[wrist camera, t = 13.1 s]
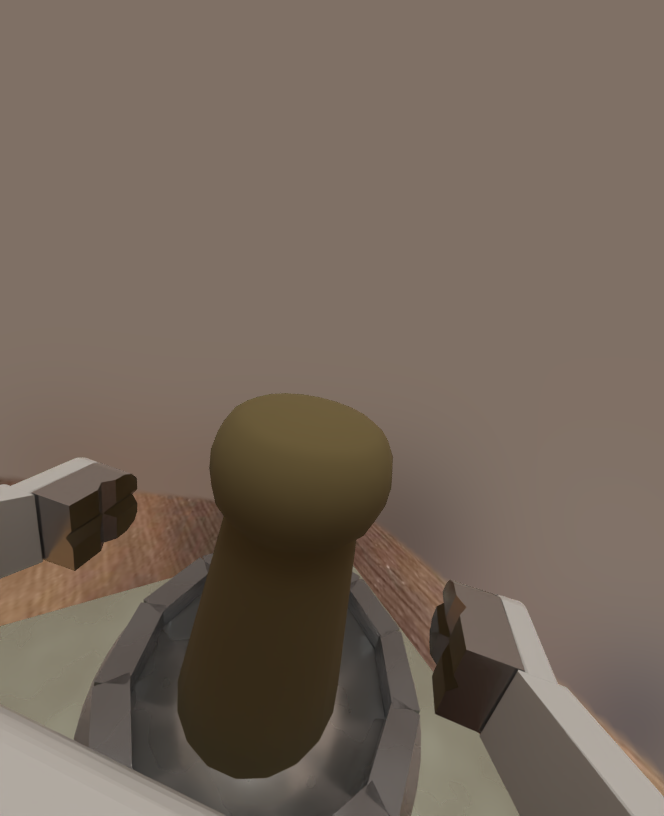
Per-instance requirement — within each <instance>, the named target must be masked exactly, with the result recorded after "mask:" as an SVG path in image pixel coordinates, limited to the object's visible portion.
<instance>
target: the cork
mask: <svg viewBox="0 0 664 816" xmlns="http://www.w3.org/2000/svg"><path fill="white" fill-rule="evenodd" d="M392 462H393V456H392V453H391V450H390V446H389V443H388V440H387V438H386V436H385V435H384V433H383V431H382V430H381V429H380V428H379V427H378V426H377V425H376V424H375V423H374V422H373V421H371V420H370V419H369V418H368V417H367V416H365V415H364V414H362V413H360V412H358V411H357V410H355V409H353V408H351V407H349V406H346V405H343V404H340V403H338V402H335V401H331V400H328V399H323V398H320V397H314V396H309V395H302V394H288V393H284V394H269V395H264V396H260V397H256V398H253V399H251V400H247V401H246V402H244V403H242V404H240V405H238V406H237V407H235V408H234V410H233V411H232V412H231V413H230V414H229V415H228V417H227V418H226V419H225V420H224V422H223V423H222V425H221V427H220V429H219V430H218V432H217V435H216V437H215V440H214V443H213V445H212V448H211V455H210V476H211V485H212V489H213V494H214V499H215V503H216V505H217V507H218V508H219V510H220V511H221V512H222V514H223V515H224V517H223V521H222V524H221V528H220V532H219V535H218V539H217V542H216V546H215V549H214V553H213V557H212V560H211V564H210V567H209V571H208V574H207V578H206V582H205V585H204V589H203V592H202V596H201V599H200V603H199V607H198V610H197V614H196V617H195V621H194V624H193V628H192V632H191V635H190V639H189V642H188V646H187V649H186V653H185V656H184V660H183V664H182V667H181V671H180V674H179V678H178V697H177V712H178V715H179V719H180V722H181V725H182V728H183V731H184V734H185V737H186V740H187V742H188V744H189V745H190V746H191V747H192V748H193V750H194V751H195V752H196V753H197V754H198V756H199V757H200V758H201V759H202V760H203V762H204V763H205V764H206V765H207V766H208V767H211V768H213V769H215V770H217V771H219V772H221V773H224V774H226V775H228V776H230V777H232V778H234V779H256V778H269V777H271V776H273V775H275V774H277V773H279V772H281V771H283V770H286V769H288V768H290V767H292V766H294V765H296V764H297V763H298V762H299V761H300V760H301V759H302V758H303V757H304V756H305V755H306V754H307V753H308V752H309V751H310V750H311V749H312V748H313V747H314V746H315V745H316V744H317V743H318V742H319V740H320V738H321V736H322V734H323V732H324V730H325V728H326V726H327V724H328V722H329V720H330V718H331V716H332V714H333V710H334V705H335V699H336V693H337V688H338V681H339V673H340V665H341V657H342V649H343V641H344V633H345V625H346V617H347V610H348V602H349V594H350V586H351V578H352V570H353V562H354V554H355V546H356V539H358V538H360V537H362V536H364V534H365V533H366V532H367V530H368V529H369V528H370V527H371V525H372V524H373V523H374V521H375V520H376V519H377V517H378V516H379V514H380V513H381V511H382V510H383V508H384V507H385V505H386V502H387V499H388V496H389V493H390V490H391V483H392Z"/></svg>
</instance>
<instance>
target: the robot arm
mask: <svg viewBox="0 0 664 816" xmlns="http://www.w3.org/2000/svg"><path fill="white" fill-rule="evenodd" d="M136 490H137V478H136V477H135V476H133V475H132V474H130V473H127V472H124V471H122V470H119V469H116V468H113V467H111V466H108V465H105V464H103V463H98V462H96V461H93V460H90V459H88V458H75V459H73V460H71V461H68V462H66V463H63V464H61V465H59V466H56V467H54V468H52V469H49V470H47V471H45V472H43V473H40V474H38V475H35V476H33V477H31V478H28V479H26V480H24V481H21V482H19V483H17V484H14V485H12V486H9V485H6V484H4V485H0V579H1V578H3V577H6V576H8V575H11V574H13V573H16V572H18V571H21V570H23V569H26V568H28V567H31V566H34V565H36V564H39V563H41V562H43V560H45V561H48V562H51V563H54V564H56V565H59V566H62V567H65V568H68V569H71V570H73V571H75V570H77V569H78V568H79V567H80V566H82V565H83V564H84V563H86V562H87V561H88V560H90V559H91V558H92V557H93V556H95V555H96V554H97V553H99V552H100V551H101V549H102V546H103V543H104V542H107V541H110V540H113V539H116V538H118V537H119V536H120V535H122V534H123V533H124V532H125V531H127V529H128V528H129V527H130V525H131V524H132V522H133V521H134V519H135V516H136V513H137V502H136V500H135V498H134V496H133V495H132V494H133V493H134V492H135V491H136ZM443 599H444V603H443V604H441V605H439V606H437V607H436V609H435V612H434V615H433V617H432V623H431V628H430V654H431V656H432V658H433V659H434V661H435V663H436V664H437V666H436V668H435V670H434V673H433V675H432V684H433V697H434V710H435V714H436V715H438V716H441V717H443V718H445V719H448V720H450V721H452V722H455V723H457V724H459V725H462V726H464V727H466V728H469V729H471V730H473V731H476V732H478V733H480V738H481V740H482V742H483V744H484V746H485V748H486V750H487V752H488V754H489V756H490V758H491V760H492V762H493V764H494V766H495V768H496V770H497V772H498V774H499V776H500V778H501V780H502V782H503V784H504V786H505V787H506V789H507V791H508V793H509V795H510V797H511V799H512V801H513V803H514V805H515V807H516V809H517V811H518V813H519V815H520V816H664V796H663V795H662V794H661V793H660V792H659V791H658V790H657V789H656V787H655V786H654V785H653V784H652V783H651V782H650V781H649V780H648V778H647V777H646V776H645V775H644V774H643V773H642V772H641V771H640V769H639V768H638V767H637V766H636V765H635V764H634V763H633V762H632V760H631V759H630V758H629V757H628V756H627V755H626V754H625V753H624V751H623V750H622V749H621V748H620V747H619V746H618V745H617V744H616V742H615V741H614V740H613V739H612V738H611V737H610V736H609V735H608V733H607V732H606V731H605V730H604V729H603V728H602V727H601V726H600V724H599V723H598V722H597V721H596V720H595V719H594V718H593V717H592V715H591V714H590V713H589V712H588V711H587V710H586V709H585V708H584V706H583V705H582V704H581V703H580V702H579V701H578V700H577V698H576V697H575V696H574V695H573V694H572V693H571V692H570V691H569V689H568V688H566V687H564V686H561V685H558V683H557V680H556V678H555V676H554V673H553V671H552V668H551V666H550V664H549V661H548V659H547V657H546V654H545V652H544V649H543V647H542V645H541V642H540V640H539V637H538V635H537V633H536V630H535V628H534V626H533V623H532V621H531V618H530V616H529V614H528V611H527V609H526V607H525V606H524V605H523V603H522V602H520V601H517V600H513V599H510V598H507V597H504V596H501V595H495V594H493V593H489V592H486V591H483V590H480V589H477V588H474V587H471V586H468V585H465V584H462V583H459V582H456V581H453V580H449V581H448V582H447V584H446V586H445V588H444V590H443ZM0 816H226V815H224V814H222V813H220V812H218V811H216V810H214V809H212V808H210V807H208V806H206V805H204V804H202V803H200V802H198V801H196V800H194V799H192V798H190V797H188V796H186V795H184V794H182V793H180V792H178V791H176V790H174V789H172V788H170V787H168V786H166V785H164V784H162V783H160V782H158V781H156V780H153V779H151V778H149V777H147V776H145V775H143V774H141V773H139V772H137V771H135V770H133V769H131V768H129V767H127V766H125V765H123V764H121V763H119V762H117V761H115V760H113V759H111V758H109V757H107V756H105V755H103V754H101V753H99V752H97V751H95V750H93V749H91V748H89V747H87V746H85V745H82V744H80V743H78V742H76V741H74V740H72V739H70V738H68V737H66V736H64V735H62V734H60V733H58V732H56V731H54V730H52V729H50V728H48V727H46V726H44V725H42V724H40V723H38V722H36V721H34V720H32V719H30V718H28V717H26V716H24V715H22V714H20V713H18V712H16V711H14V710H12V709H9V708H7V707H5V706H3V705H1V704H0Z"/></svg>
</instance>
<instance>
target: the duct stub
mask: <svg viewBox="0 0 664 816" xmlns="http://www.w3.org/2000/svg"><path fill="white" fill-rule="evenodd" d="M212 557H213V554H209V555H205V556H203V559H201V558H199V559H197V560H196V561H195V562H193V563H192V564H190V565H189V566H188V567H186V568H185V569H184V570H182V571H181V572H180V573H178V574H177V575H176V576H174V577H173V578H170V579H166V580H163V581H159V582H156V583H152V584H149V585H145V586H141V587H138V588H134V589H131V590H127V591H124V592H120V593H117V594H113V595H110V596H106V597H102V598H99V599H95V600H92V601H88V602H85V603H81V604H78V605H74V606H70V607H67V608H63V609H60V610H56V611H53V612H49V613H46V614H42V615H39V616H35V617H31V618H28V619H24V620H21V621H17V622H14V623H10V624H7V625H3V626H0V704H1V705H3V706H5V707H7V708H9V709H12V710H14V711H16V712H18V713H20V714H22V715H24V716H26V717H28V718H30V719H32V720H34V721H36V722H38V723H40V724H42V725H44V726H46V727H48V728H50V729H52V730H54V731H56V732H58V733H60V734H62V735H64V736H66V737H68V738H70V739H72V740H74V741H76V742H78V743H80V744H82V745H85V746H87V747H89V748H91V749H93V750H95V751H97V752H99V753H101V754H103V755H105V756H107V757H109V758H111V759H113V760H115V761H117V762H119V763H121V764H123V765H125V766H127V767H129V768H131V769H133V770H135V771H137V772H139V773H141V774H143V775H145V776H147V777H149V778H151V779H153V780H156V781H158V782H160V783H162V784H164V785H166V786H168V787H170V788H172V789H174V790H176V791H178V792H180V793H182V794H184V795H186V796H188V797H190V798H192V799H194V800H196V801H198V802H200V803H202V804H204V805H206V806H208V807H210V808H212V809H214V810H216V811H218V812H220V813H222V814H224V815H226V816H520V815H519V813H518V811H517V809H516V807H515V805H514V803H513V801H512V799H511V797H510V795H509V793H508V791H507V789H506V787H505V786H504V784H503V782H502V780H501V778H500V776H499V774H498V772H497V770H496V768H495V766H494V764H493V762H492V760H491V758H490V756H489V754H488V752H487V750H486V748H485V746H484V744H483V742H482V740H481V738H480V734H479V733H478V732H476V731H473V730H471V729H469V728H466V727H464V726H462V725H459V724H457V723H455V722H452V721H450V720H448V719H445V718H443V717H441V716H438V715H436V714H435V710H434V697H433V684H432V675H433V672H432V670H431V669H430V668H429V666H428V665H427V664H426V662H425V661H424V660H423V658H422V657H421V656H420V654H419V653H418V652H417V650H416V649H415V648H414V646H413V645H412V644H411V642H410V641H409V640H408V638H407V637H406V636H405V634H404V633H403V632H402V630H401V629H400V628H399V626H398V625H397V623H396V622H395V621H394V619H393V618H392V617H391V615H390V614H389V613H388V611H387V610H386V609H385V607H384V606H383V605H382V603H381V602H380V601H379V599H378V598H377V597H376V595H375V594H374V593H373V591H372V590H371V589H370V587H369V586H368V585H367V583H366V582H365V581H364V579H363V578H362V577H361V575H360V574H359V573H358V571H357V570H356V569H355V567H354V566H353V570H352V578H351V586H350V594H349V602H348V610H347V617H346V625H345V633H344V641H343V649H342V657H341V665H340V673H339V681H338V688H337V693H336V699H335V705H334V710H333V714H332V716H331V718H330V720H329V722H328V724H327V726H326V728H325V730H324V732H323V734H322V736H321V738H320V740H319V742H318V743H317V744H316V745H315V746H314V747H313V748H312V749H311V750H310V751H309V752H308V753H307V754H306V755H305V756H304V757H303V758H302V759H301V760H300V761H299V762H298V763H297V764H296V765H294V766H292V767H290V768H288V769H286V770H283V771H281V772H279V773H277V774H275V775H273V776H271V777H269V778H256V779H234V778H232V777H230V776H228V775H226V774H224V773H221V772H219V771H217V770H215V769H213V768H211V767H208V766H207V765H206V764H205V763H204V762H203V760H202V759H201V758H200V757H199V756H198V754H197V753H196V752H195V751H194V750H193V748H192V747H191V746H190V745H189V744H188V742H187V740H186V737H185V734H184V731H183V728H182V725H181V722H180V719H179V715H178V712H177V697H178V678H179V674H180V671H181V667H182V664H183V660H184V656H185V653H186V649H187V646H188V642H189V639H190V635H191V632H192V628H193V624H194V621H195V617H196V614H197V610H198V607H199V603H200V599H201V596H202V592H203V589H204V585H205V582H206V578H207V574H208V571H209V567H210V564H211V560H212Z"/></svg>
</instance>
